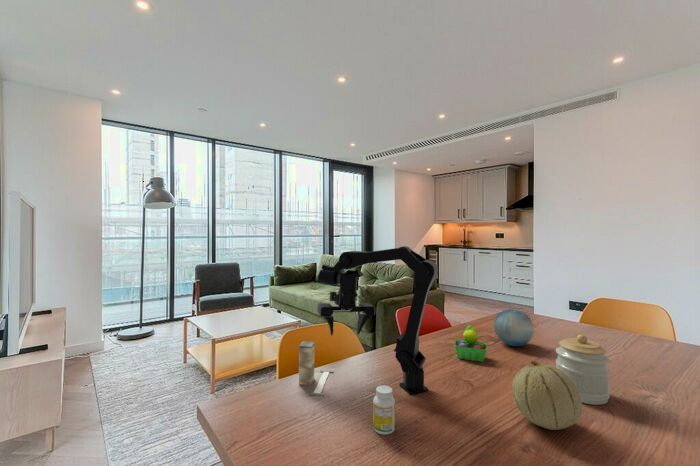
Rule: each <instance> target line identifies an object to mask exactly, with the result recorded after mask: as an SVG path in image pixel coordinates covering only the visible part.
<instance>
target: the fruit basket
mask: <svg viewBox="0 0 700 466" xmlns="http://www.w3.org/2000/svg"><path fill="white" fill-rule="evenodd" d="M462 335H463V340H461V339H456V340H455V342H454V348H455V351H456V355H457V359H461V360H467V361H469V360H470V361H474V362H482V363H484V361H485V357H486V354H487V353H488V352H487V351H488V343H486V342H482V341H481V342H479V341H478V340H479V336H478V333H477V330H476V328H475V327H473V325H467V326H466V328H465V329H464V332H463V334H462Z"/></svg>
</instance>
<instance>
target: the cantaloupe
mask: <svg viewBox="0 0 700 466" xmlns="http://www.w3.org/2000/svg"><path fill="white" fill-rule="evenodd" d="M511 385H512V394H513V395H512V396H513V399H514V402H515V405H516V407H517V409H518V410H519V412H520V414H521V415H522V416H524V418H526V419H527V420H528V421H529V422H531V423H532V424H534V425H536V426H538V427H541V428H544V429H547V430H549V431H551V430H552V431H555V430H556V431H557V430H563V429H566V428H570V427H572V426H573V425H575V424H576V423H577V422H578V421H579V419H580V418H581V414H582V411H583V403H582V402H581V397H580V394H579V391H578V390H577V388H576V386H575V385H574V383H573V382H572V380H571V379H570V378H569V377H568V376H567V375H566V374H565V373H564V372H563V371H561V370H560V369H558V368H556V366H553V365H551V364H550V365H549V364H543V363H539V362H537V361H534V360H532V361H530V365H527V366H526V365H525V366H524V367H521V369H519V370H518V372H517V373H516V374H515V376H514V378H513V380H512V384H511Z"/></svg>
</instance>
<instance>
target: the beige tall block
mask: <svg viewBox="0 0 700 466" xmlns="http://www.w3.org/2000/svg"><path fill="white" fill-rule="evenodd" d="M314 381H315V341H301V343H300V344H299V345H298V384H299V385H307V386H308V385H309V386H312V384H313V382H314Z"/></svg>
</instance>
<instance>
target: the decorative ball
mask: <svg viewBox="0 0 700 466" xmlns="http://www.w3.org/2000/svg"><path fill="white" fill-rule="evenodd" d="M493 328H494V329H493V330H494V333H495V334H496V336H497V337H498V339H499V340H500V341H501V342H503V343H504V344H506V345H509V346H512V347H522V346H524V345H526V344H528V343H529V342H530V341H531V339H532V338H533V336H534V333H535V330H534V329H535V328H534V324H533V322H532V320H531V318H530V317H529V316H528V315H527V314H526V313H525V312H523V311H520V310H518V309H514V308H509V309H504V310H502V311H501V312H499V313H498V314H497V315H496V317H495V318H494V321H493Z"/></svg>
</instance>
